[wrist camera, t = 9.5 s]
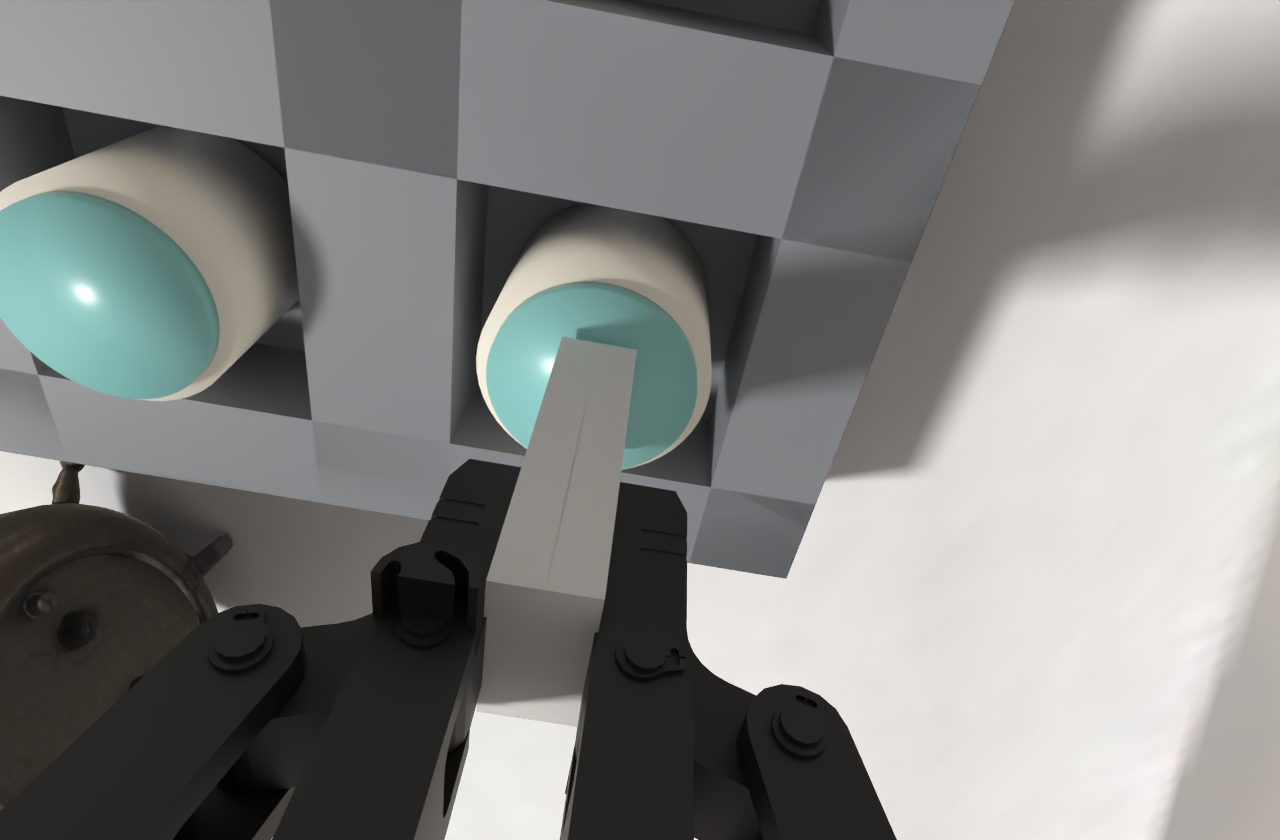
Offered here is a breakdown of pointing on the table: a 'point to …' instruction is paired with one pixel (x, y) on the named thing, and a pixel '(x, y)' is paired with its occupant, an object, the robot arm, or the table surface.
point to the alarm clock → (83, 619)
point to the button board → (511, 220)
